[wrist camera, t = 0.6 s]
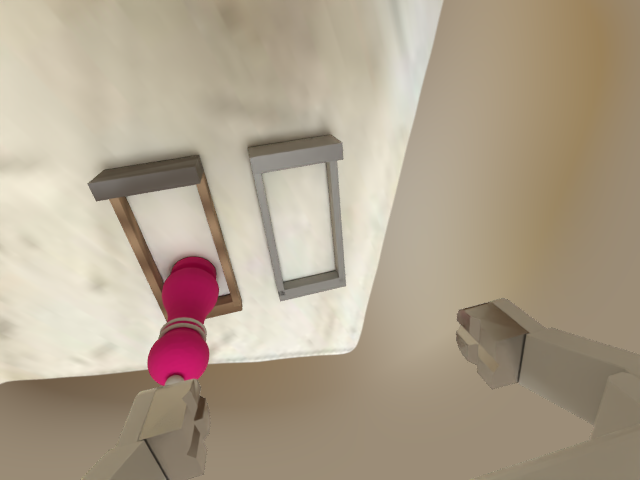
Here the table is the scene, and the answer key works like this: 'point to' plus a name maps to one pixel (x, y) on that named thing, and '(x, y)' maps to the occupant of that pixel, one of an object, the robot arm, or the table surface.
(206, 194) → the brown wooden rectangular frame
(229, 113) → the table surface
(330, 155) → the grey open rectangular frame
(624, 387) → the robot arm
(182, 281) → the pepper mill
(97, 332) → the table surface
